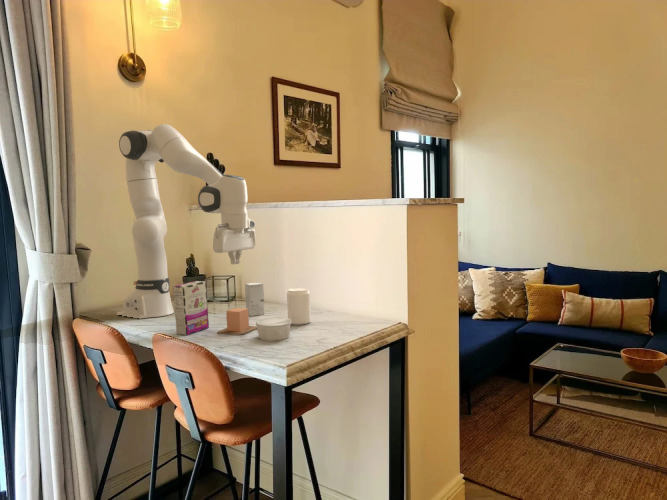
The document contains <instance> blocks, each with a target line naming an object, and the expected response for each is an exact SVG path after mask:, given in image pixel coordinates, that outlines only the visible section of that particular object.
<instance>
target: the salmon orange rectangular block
mask: <svg viewBox="0 0 667 500" xmlns="http://www.w3.org/2000/svg"><path fill="white" fill-rule="evenodd" d="M225 314H226V328H227V330H228V331H240V332H241V331H243V330H245V329H248V328H249V326H250V322H249V321H250V320H249V319H250V318H249V317H250V316H249V315H248V309H246V308H243V307H234V308H231V309H228V310H226V313H225Z"/></svg>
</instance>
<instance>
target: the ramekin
mask: <svg viewBox="0 0 667 500" xmlns="http://www.w3.org/2000/svg"><path fill="white" fill-rule="evenodd" d="M291 325H292V324H291V320H290V319H288V317H267V318H262V319H258V320H256V322H255V326H256V327H257V329H256V330H257V333H258V337H259V338H260V340H262V341H267V342H277V341H283V340H285V339H287V338H288V337H289V336H290V333H291Z"/></svg>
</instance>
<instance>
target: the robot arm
mask: <svg viewBox="0 0 667 500" xmlns="http://www.w3.org/2000/svg"><path fill="white" fill-rule="evenodd" d="M118 145H119V151H120V152H121V154H122V155H121V156H123V157H124V158H125V177H126V179H125V180H126V184H127V191H128V194H129V195H128V196H129V203H130V204H131V207H132V210H133V213H134V218H135V222H133V224H132V227H131V234H132V239H133V246H134V251H135V254H136V255H135V256H136V261H137V263H136V264H137V278H138V279H137V280H135V281H134V282H133V286H135V289H134V290H133V291H132V292H131V293H130V294H128V295H127V296H126V297H125V298H124V299H123V302H122V310H120V311H117V312H116V316H118V315H122V316H121V317H124V316H127V317H126V318H130V317H133V318H132V319H137V318H139V319H141V320H142V319H146V318H147V319H149V318H158V317H165V316H168V315H172V314H175V309H174V307H173V306H174V305H173V304H172V303H173V302H172V299H171V294H170V278H169V275H168V272H169V271H168V257H167V254H166V248H165V241H164V239H165V238H166V236H167V234H168V233H167V232H168V226H167V225H168V224H167V221H166V216H165V212H164V209H163V205H162V201H161V195H160V190H159V184H158V177H157V174H156V172H157V171H156V164H157V163H158V162H160V163H165V164H166V165H167V167H168V168H170V169H171V170H173V171H174V172H177V173H180V174H184V175H189V176H192V177H196V178H199V179H201V180H202V181H204V182H206V184H208V185H205V186H203V187H201V188H200V190H199V193H198V196H197V202H198V205H199V208H200V209H201V210H202V211H203V212H205V213H208V214H220V219H221V223H219V224H217V226H216V227H215V228H214V229H215V231H214V233H213V238H212V250H213V252H214V253H216V254H218V253H219V254H223V253H227V255H228V257H229V259H230V265H239V264H240V263H241V261H240V260H241V257H242V254H243V251H245V250H246V251H247V250H251V249H252V250H253V249H255V246H256V240H257V239H256V234H257V233H256V230H255V228H256V227H257V222H256V221H255V220H253V219H251V218H249V214H248V210H247V209H248V208H247V205H248V202H249V201H248V200H249V199H248V197H249V196H248V187H247V181H246V179H245V178H244V177H242V176H240V175H233V174H223V173H222V172H221V171H220V170H219V169H218V168H217V167H215V165H214V164H212V163H211V161H209V159H206V158H205V157H204V156H203V155H202V154H201V153H199V151H198V150H196V149H195V148H194V146H192V144H191V143H190V142H189V141H188V140H187V139H186V138H185V137H184V135H182V134H181V132H179V131H178V130H177V129H176V128H175V127H174V126H172V125H170V124H167V123H163V124H159V125H157V126H155V127H154V129H146V130H129V131H125V132H123V133H122V134H121V136H120V138H119V141H118Z"/></svg>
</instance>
